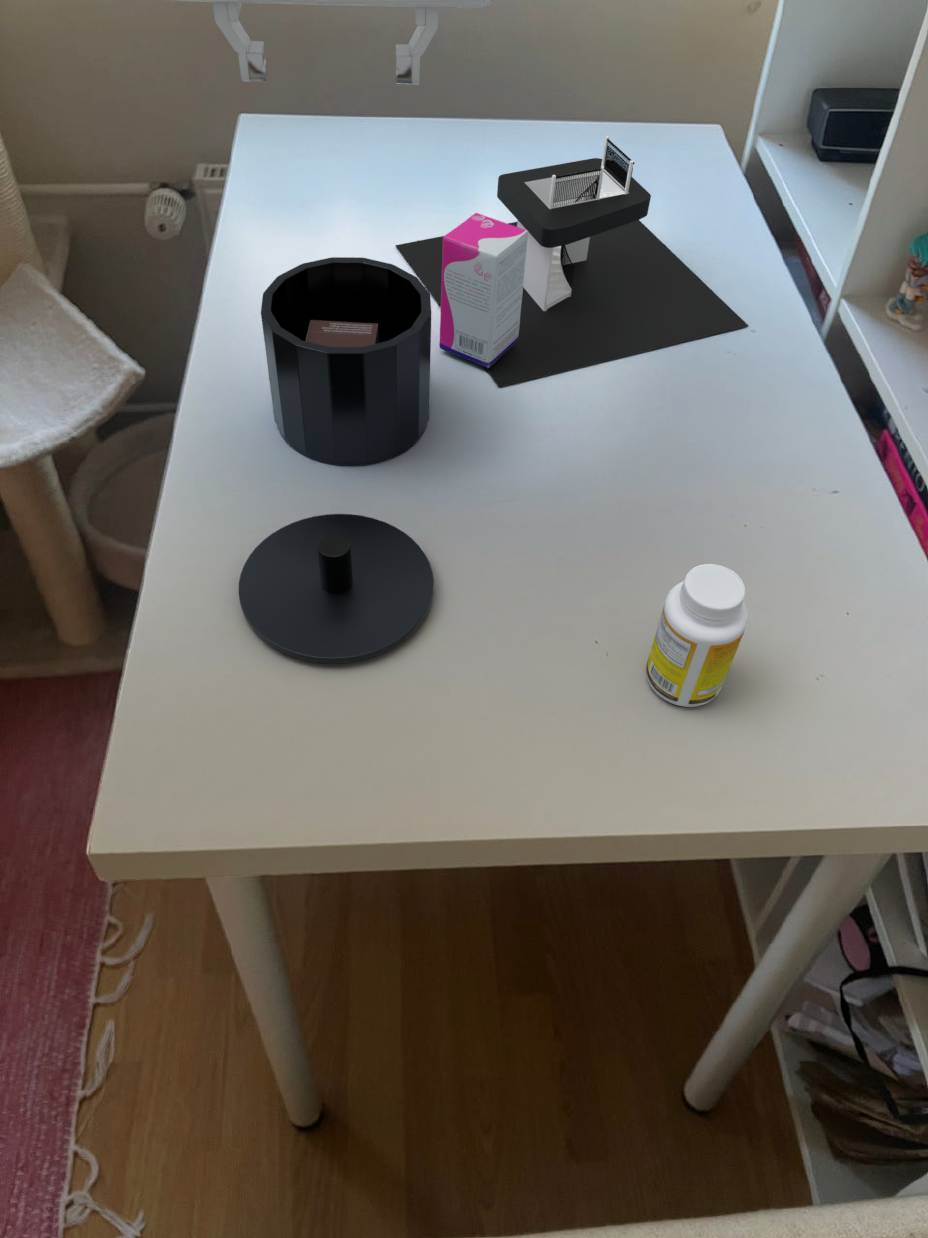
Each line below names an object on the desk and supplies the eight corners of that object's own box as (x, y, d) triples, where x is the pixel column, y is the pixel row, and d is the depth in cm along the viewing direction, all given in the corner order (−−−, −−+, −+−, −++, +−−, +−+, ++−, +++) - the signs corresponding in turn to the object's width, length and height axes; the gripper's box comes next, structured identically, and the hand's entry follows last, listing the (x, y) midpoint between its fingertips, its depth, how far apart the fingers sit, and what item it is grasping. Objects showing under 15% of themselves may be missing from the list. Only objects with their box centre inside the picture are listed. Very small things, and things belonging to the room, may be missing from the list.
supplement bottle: (725, 660, 74) (763, 566, 66) (715, 719, 71) (754, 627, 63) (651, 640, 75) (679, 545, 67) (637, 698, 71) (665, 605, 63)
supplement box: (520, 339, 98) (531, 229, 89) (488, 369, 94) (496, 258, 85) (470, 319, 99) (476, 209, 91) (436, 348, 96) (439, 236, 87)
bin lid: (232, 671, 71) (222, 624, 67) (248, 525, 81) (239, 476, 77) (437, 666, 72) (439, 620, 68) (429, 523, 82) (430, 475, 78)
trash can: (271, 467, 85) (255, 352, 76) (280, 369, 94) (266, 256, 85) (431, 465, 86) (434, 352, 77) (425, 368, 95) (427, 257, 86)
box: (382, 391, 91) (380, 322, 86) (375, 434, 88) (373, 364, 82) (315, 387, 91) (309, 317, 86) (305, 430, 88) (299, 360, 82)
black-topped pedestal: (499, 388, 93) (510, 257, 83) (395, 246, 108) (393, 120, 98) (748, 326, 102) (786, 200, 91) (619, 202, 116) (640, 81, 106)
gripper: (98, -197, 49) (153, 98, 59) (515, -181, 50) (497, 104, 61) (118, -227, 53) (167, 54, 63) (504, -212, 54) (488, 61, 65)
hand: (331, 79), depth 62 cm, fingers open, 8 cm apart
